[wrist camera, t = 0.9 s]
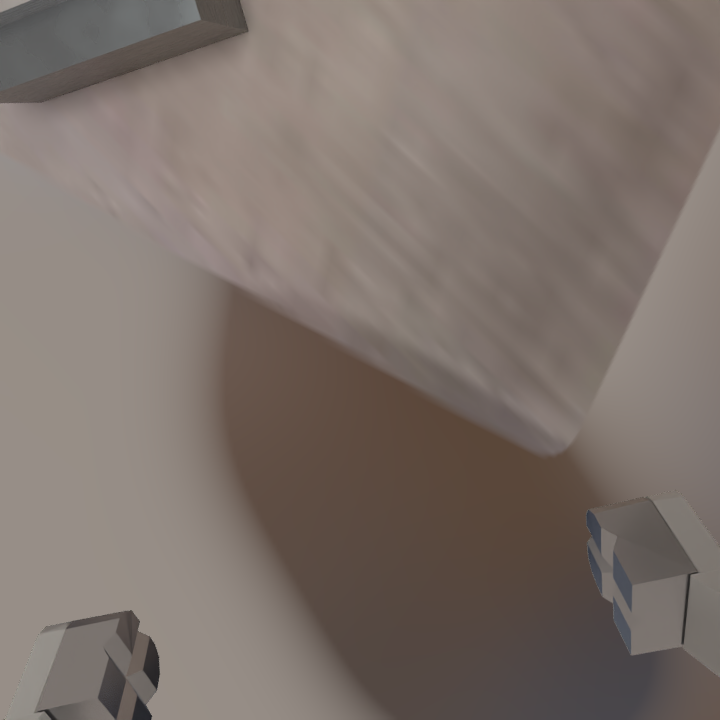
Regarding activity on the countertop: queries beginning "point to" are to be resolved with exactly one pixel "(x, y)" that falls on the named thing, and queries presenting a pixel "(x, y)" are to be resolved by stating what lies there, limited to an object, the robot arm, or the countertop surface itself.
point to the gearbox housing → (100, 40)
